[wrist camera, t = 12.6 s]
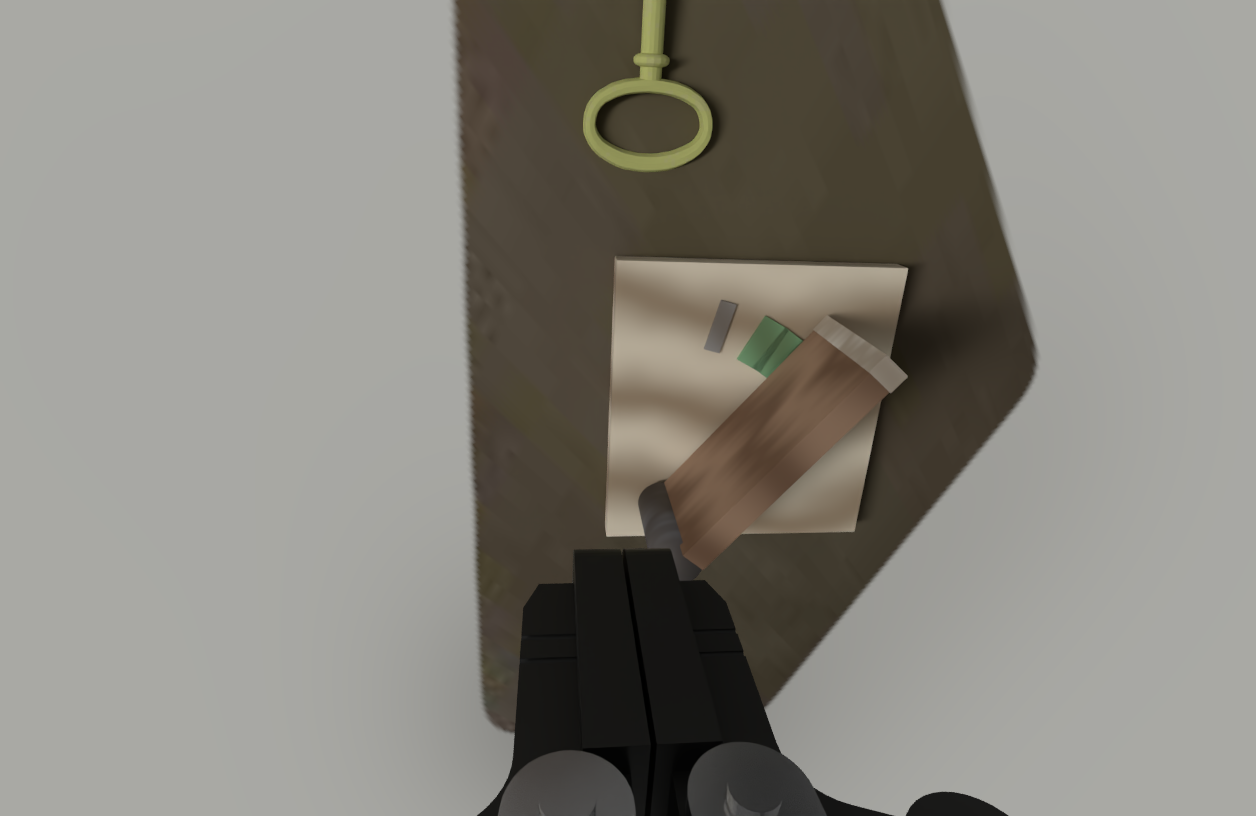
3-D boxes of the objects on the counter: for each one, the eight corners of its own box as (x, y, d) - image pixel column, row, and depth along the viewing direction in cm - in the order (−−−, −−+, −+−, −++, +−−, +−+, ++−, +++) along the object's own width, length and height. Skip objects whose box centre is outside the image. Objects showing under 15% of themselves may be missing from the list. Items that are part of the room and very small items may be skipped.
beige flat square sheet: (614, 255, 40) (617, 261, 38) (896, 263, 42) (909, 268, 40) (605, 524, 47) (606, 538, 46) (845, 520, 49) (855, 533, 48)
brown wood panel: (820, 308, 40) (879, 347, 33) (851, 339, 41) (915, 383, 34) (629, 505, 44) (643, 578, 37) (661, 528, 45) (681, 604, 38)
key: (663, -93, 34) (669, -107, 32) (717, 154, 39) (725, 155, 37) (529, -49, 34) (527, -60, 32) (600, 191, 39) (602, 194, 37)
